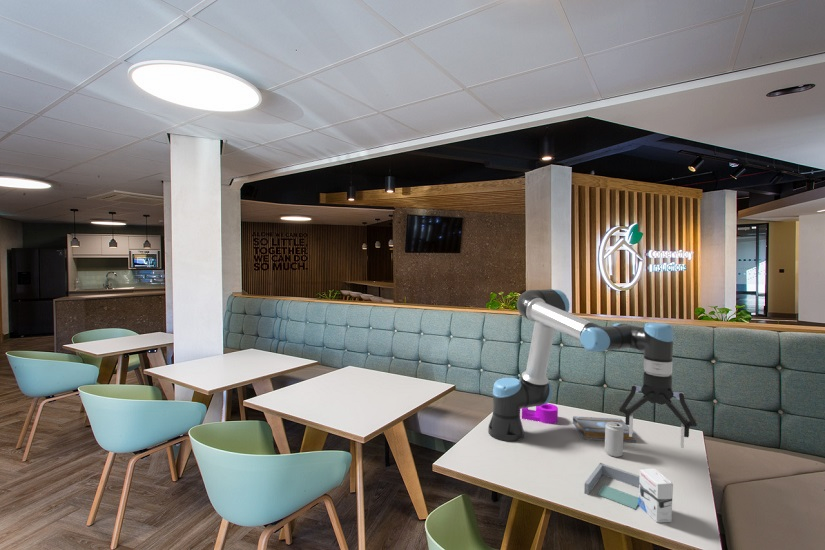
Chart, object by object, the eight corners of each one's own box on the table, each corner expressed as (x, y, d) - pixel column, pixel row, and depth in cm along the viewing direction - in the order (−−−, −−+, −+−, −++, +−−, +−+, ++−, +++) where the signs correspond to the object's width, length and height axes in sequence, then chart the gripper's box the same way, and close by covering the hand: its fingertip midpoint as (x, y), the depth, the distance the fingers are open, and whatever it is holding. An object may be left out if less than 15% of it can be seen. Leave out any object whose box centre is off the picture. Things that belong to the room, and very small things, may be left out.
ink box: (637, 504, 122) (638, 468, 122) (652, 504, 123) (653, 467, 122) (656, 523, 114) (658, 483, 113) (672, 522, 114) (674, 483, 114)
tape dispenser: (557, 417, 189) (558, 404, 189) (557, 425, 180) (557, 412, 180) (523, 412, 195) (524, 400, 195) (521, 419, 186) (521, 407, 186)
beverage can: (624, 458, 150) (626, 428, 150) (607, 456, 152) (608, 426, 151) (619, 450, 157) (620, 421, 156) (602, 449, 158) (603, 420, 157)
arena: (584, 493, 128) (584, 482, 128) (599, 472, 141) (600, 462, 140) (639, 514, 117) (640, 503, 117) (650, 490, 130) (651, 479, 130)
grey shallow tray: (619, 426, 180) (620, 416, 180) (636, 443, 164) (636, 432, 164) (572, 424, 182) (572, 413, 182) (584, 440, 166) (585, 429, 166)
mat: (597, 494, 127) (597, 493, 127) (603, 485, 132) (603, 484, 132) (635, 509, 120) (635, 508, 120) (640, 499, 125) (640, 498, 125)
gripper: (611, 369, 124) (609, 434, 125) (709, 383, 111) (706, 457, 111) (614, 364, 131) (612, 426, 131) (707, 377, 117) (704, 446, 118)
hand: (655, 440), depth 121 cm, fingers open, 13 cm apart
